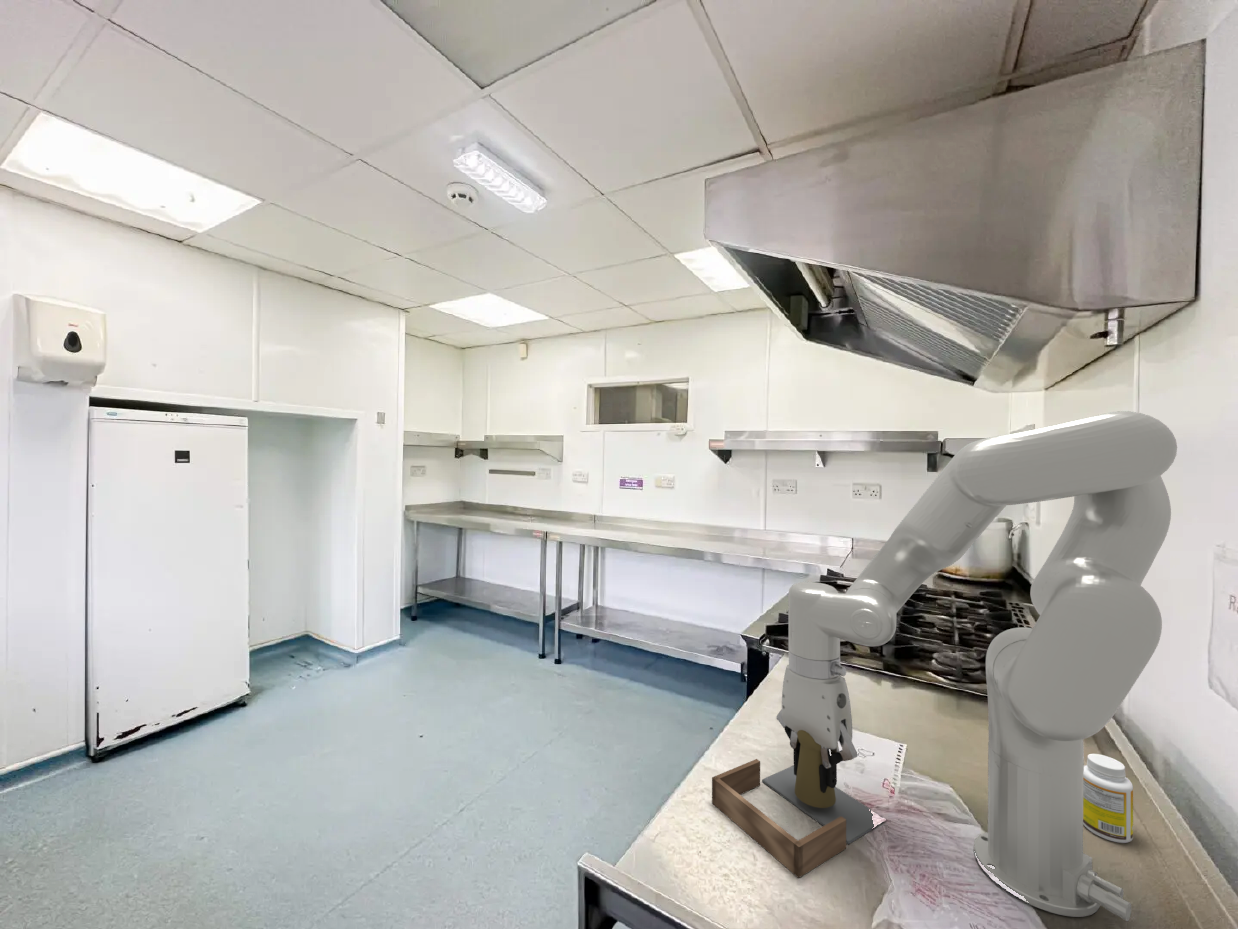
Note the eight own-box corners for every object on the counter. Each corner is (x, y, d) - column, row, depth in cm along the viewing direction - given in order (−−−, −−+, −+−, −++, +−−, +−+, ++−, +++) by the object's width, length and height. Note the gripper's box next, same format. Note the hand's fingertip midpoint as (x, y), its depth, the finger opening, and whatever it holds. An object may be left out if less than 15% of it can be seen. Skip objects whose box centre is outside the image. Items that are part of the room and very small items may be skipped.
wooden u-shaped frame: (846, 848, 69) (846, 819, 69) (798, 878, 64) (798, 847, 64) (756, 782, 83) (756, 759, 83) (711, 802, 78) (712, 777, 78)
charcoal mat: (885, 821, 75) (885, 818, 75) (848, 844, 70) (848, 841, 70) (798, 765, 88) (798, 763, 88) (762, 782, 84) (762, 779, 84)
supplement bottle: (1102, 816, 76) (1102, 749, 76) (1144, 844, 70) (1144, 771, 70) (1069, 818, 75) (1069, 751, 75) (1109, 847, 70) (1109, 773, 70)
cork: (828, 783, 81) (827, 715, 81) (841, 809, 75) (841, 735, 75) (790, 781, 81) (789, 714, 81) (800, 807, 75) (800, 733, 75)
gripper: (879, 677, 73) (880, 803, 73) (786, 643, 87) (787, 748, 87) (848, 689, 69) (848, 822, 69) (756, 651, 83) (757, 761, 83)
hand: (814, 779), depth 78 cm, fingers closed on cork, 4 cm apart
